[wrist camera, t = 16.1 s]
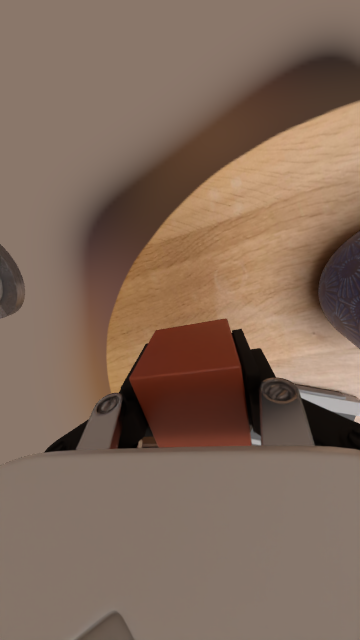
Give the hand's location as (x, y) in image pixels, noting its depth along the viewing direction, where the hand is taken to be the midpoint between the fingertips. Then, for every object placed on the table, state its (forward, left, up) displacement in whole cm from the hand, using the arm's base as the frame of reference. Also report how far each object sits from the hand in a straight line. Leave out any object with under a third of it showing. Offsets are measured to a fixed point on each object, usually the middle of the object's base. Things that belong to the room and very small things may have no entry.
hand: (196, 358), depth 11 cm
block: (0, 0, 0) cm, 0 cm away
